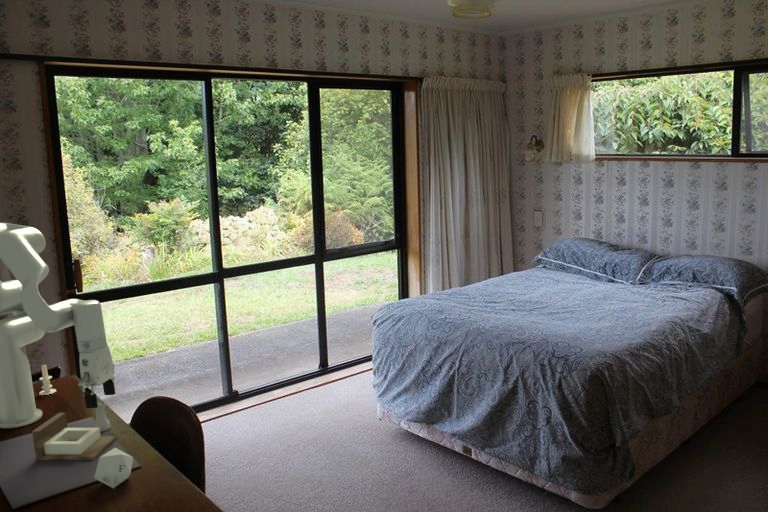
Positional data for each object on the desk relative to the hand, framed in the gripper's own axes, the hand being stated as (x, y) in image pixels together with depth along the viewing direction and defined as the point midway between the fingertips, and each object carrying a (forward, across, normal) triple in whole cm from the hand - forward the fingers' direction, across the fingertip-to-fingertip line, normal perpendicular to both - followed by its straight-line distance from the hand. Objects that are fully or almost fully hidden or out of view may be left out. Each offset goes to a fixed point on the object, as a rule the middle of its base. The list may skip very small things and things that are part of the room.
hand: (101, 401), depth 189 cm
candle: (+7, +28, +36) cm, 46 cm away
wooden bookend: (+9, -13, +1) cm, 15 cm away
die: (+10, -30, -19) cm, 37 cm away
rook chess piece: (+9, 0, +1) cm, 9 cm away
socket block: (+8, -13, +2) cm, 15 cm away
